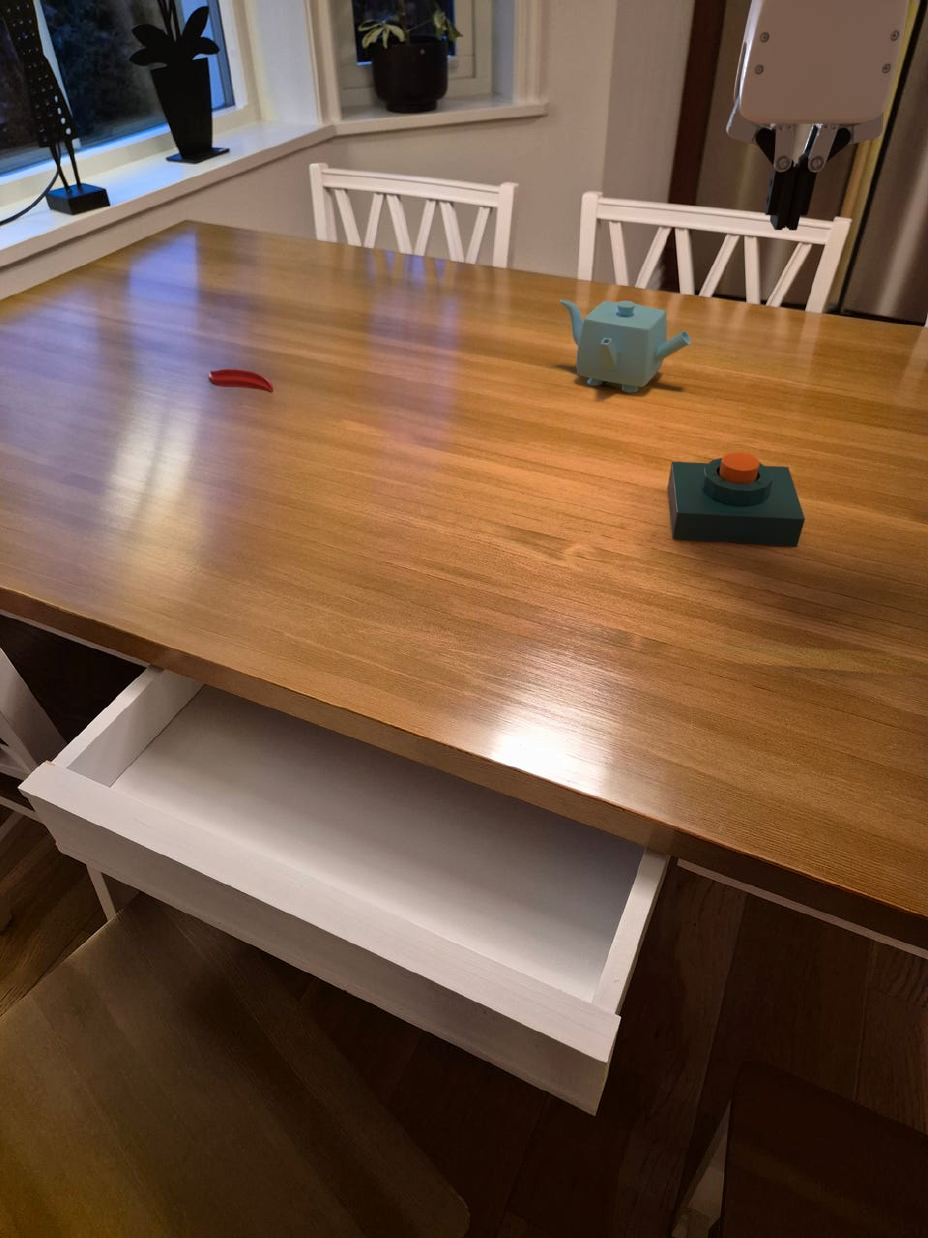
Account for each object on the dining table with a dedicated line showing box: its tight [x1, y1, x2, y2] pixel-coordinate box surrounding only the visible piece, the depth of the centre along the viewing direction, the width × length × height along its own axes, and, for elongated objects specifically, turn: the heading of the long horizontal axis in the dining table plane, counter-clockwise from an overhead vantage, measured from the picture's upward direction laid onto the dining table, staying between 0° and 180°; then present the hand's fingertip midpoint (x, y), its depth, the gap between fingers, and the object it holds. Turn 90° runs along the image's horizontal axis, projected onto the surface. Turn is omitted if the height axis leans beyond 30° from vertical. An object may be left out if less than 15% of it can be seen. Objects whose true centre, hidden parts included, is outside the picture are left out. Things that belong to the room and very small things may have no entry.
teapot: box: [559, 299, 692, 393], centre depth 108 cm, size 18×14×10 cm
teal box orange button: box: [667, 457, 806, 547], centre depth 84 cm, size 12×10×5 cm
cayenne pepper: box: [208, 368, 274, 393], centre depth 113 cm, size 12×5×2 cm, turn 50°
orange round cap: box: [719, 452, 761, 484], centre depth 82 cm, size 4×4×2 cm
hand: (783, 224), depth 64 cm, fingers closed
